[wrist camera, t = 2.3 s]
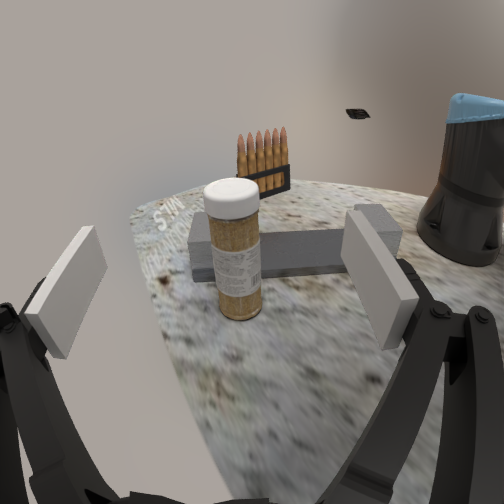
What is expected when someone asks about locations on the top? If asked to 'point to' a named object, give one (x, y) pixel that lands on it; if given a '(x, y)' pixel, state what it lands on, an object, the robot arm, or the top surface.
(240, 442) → the top surface
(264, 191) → the ammunition clip
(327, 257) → the rail
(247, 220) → the sprinkles bottle
